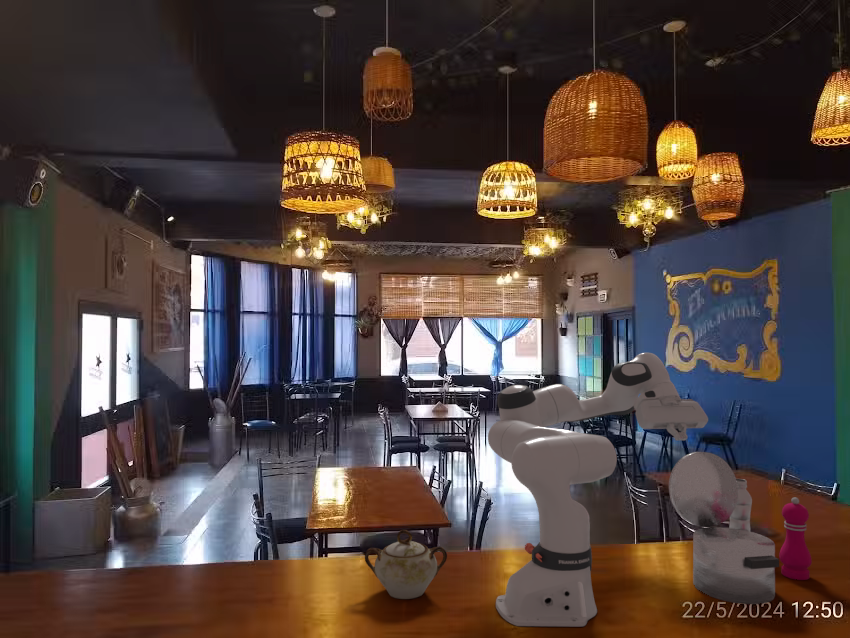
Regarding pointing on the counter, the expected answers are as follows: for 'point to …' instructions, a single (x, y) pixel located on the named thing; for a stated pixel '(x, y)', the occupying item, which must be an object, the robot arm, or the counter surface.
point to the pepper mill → (795, 542)
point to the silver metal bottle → (741, 508)
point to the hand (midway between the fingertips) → (681, 439)
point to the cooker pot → (734, 565)
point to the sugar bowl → (405, 566)
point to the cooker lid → (703, 489)
